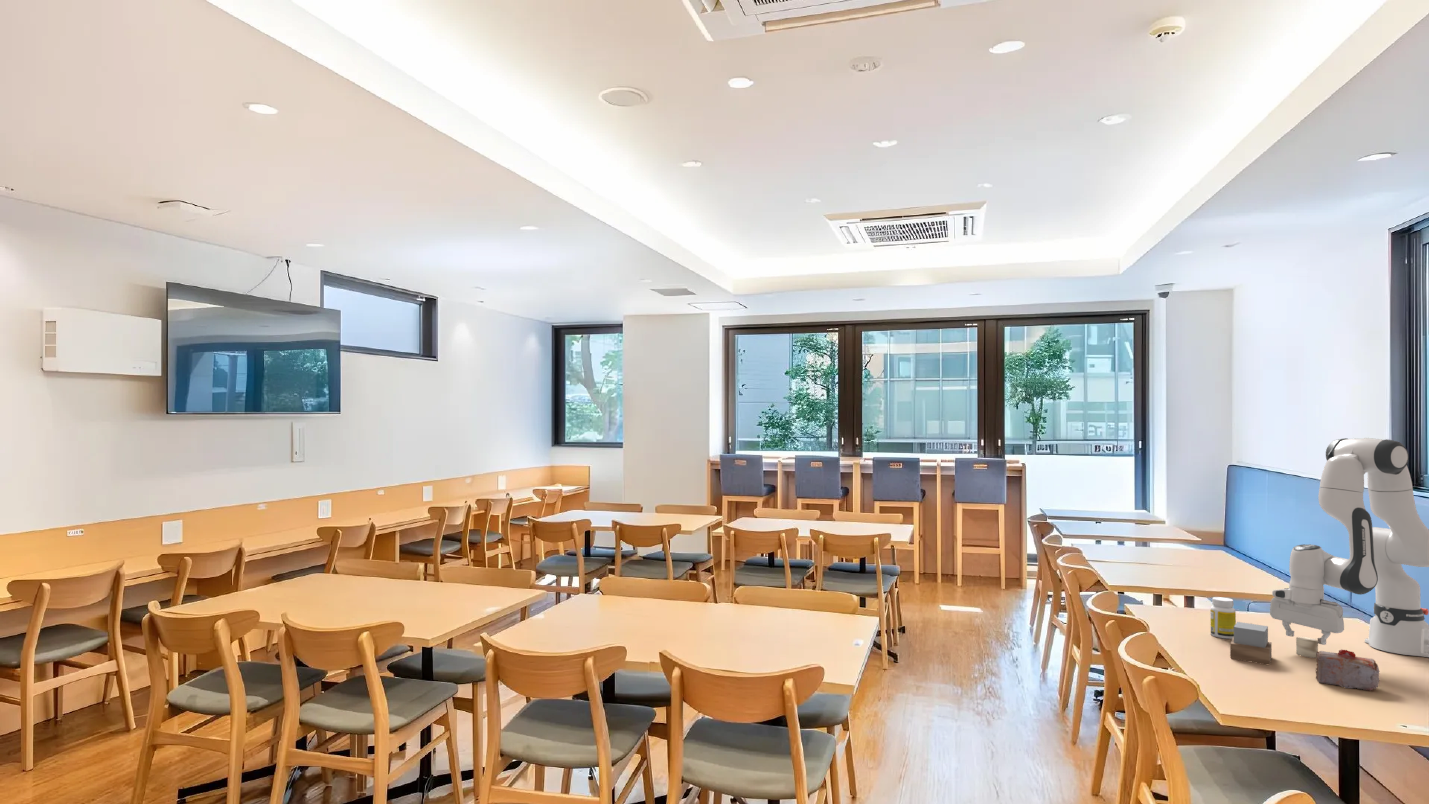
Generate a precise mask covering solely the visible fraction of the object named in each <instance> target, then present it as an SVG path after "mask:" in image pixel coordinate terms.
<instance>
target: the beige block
mask: <svg viewBox="0 0 1429 804" xmlns="http://www.w3.org/2000/svg"><path fill="white" fill-rule="evenodd" d="M1295 643H1296V646H1295V647H1296V649H1295V650H1296V651H1295V654H1296V655H1297V656H1299V655H1301V656H1300V657H1303V656H1304V658H1311V659H1317V656H1316V653H1317V652H1319V644H1318V639H1316V638H1312V637H1307V636H1306V637H1305V636H1297V637H1295Z"/></svg>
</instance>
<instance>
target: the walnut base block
mask: <svg viewBox="0 0 1429 804" xmlns="http://www.w3.org/2000/svg"><path fill="white" fill-rule="evenodd" d="M1229 645H1230V648H1229V650H1230V652H1229V653H1230V655H1229V657H1230V658H1231V660H1236V661H1242V662H1243V661H1244V662H1248V661H1252V662H1251V663H1254V662H1257V663H1256V664H1260V663H1261V665H1266V664H1270V665H1271V662H1272V658H1271V657H1272V642H1271V641H1268V643H1267V645H1266V647H1265V648H1262V647H1256V646H1250V645H1244V644H1238V643H1234V637H1233V638H1232V639H1231V641H1230V644H1229ZM1270 661H1271V662H1270Z"/></svg>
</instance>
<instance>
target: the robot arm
mask: <svg viewBox="0 0 1429 804" xmlns="http://www.w3.org/2000/svg"><path fill="white" fill-rule="evenodd" d="M1325 450H1326V451H1325V458H1326V463H1325V465H1324V466H1323V470H1322V473H1321V478H1320V480H1319V481H1320V483H1319V488H1318V498H1317V499H1318V503H1319V506H1320V508H1321V509H1322V511H1323V512H1324V513H1326V514H1327V515H1328V516H1330V517H1331V518H1333V519H1335V520H1336V521H1338V522H1339V523H1341V524H1342V525H1343V526H1344V527H1345V528H1346V529H1347V532H1348V541H1349V542H1348V545H1349V557H1348V558H1344V557H1340V556H1336V555H1335V556H1334V555H1333V554H1330V553H1328V552H1327V551H1325V550H1323V548H1322V547H1321V546H1319V545H1317V544H1303V543H1302V544H1297V545H1295V546H1293V548H1292V549H1291V552H1290V556H1289V567H1288V569H1289V570H1288V571H1289V575H1290V580H1289V582H1288V584H1289V585H1288V587H1287V588H1282V589H1275V590H1274V589H1273V590H1272V594H1271V595H1272V596H1273V597H1272V598H1271V600H1270V607H1269V614H1270V616H1271V618H1272V619H1274V620H1279V621H1281V624H1282V626H1283V628H1284V630H1285V635H1286V636H1287V637H1294V636H1295V630H1293V629H1292V628H1291V625H1292V624H1296V625H1299V626H1303V627H1307V628H1312V629H1316V630H1320V632H1321V634H1322V636H1321V637H1318V638H1317V640H1318V645H1322V646H1325V645H1327V639H1328V638H1329V637H1330V636H1331V633H1333V634H1339V633H1343V632H1344V630H1345V623H1344V616H1343V615H1344V608H1343V607H1342V605H1340V604H1338V602H1335V601H1330V600H1326V599H1325V587H1324V585H1325V586H1328V587H1332V588H1336V589H1339V590H1344V591H1347V592H1350V593H1353V594H1355V595H1365V594H1366V595H1367V593H1369V592H1370V593H1371V591H1372V590H1373V589H1374V591H1375V602H1374V604H1373V614H1374V616H1373V617H1371V618H1370V620H1369V629H1368V637H1367V638H1364V642H1365V643H1367V644H1368V646H1370V647H1372V648H1374V649H1377V650H1381V651H1383V652H1387V653H1392V654H1398V655H1404V656H1405V655H1406V656H1415V657H1423V658H1429V623H1428V622H1426V621H1425V619H1426V618H1425V616H1428V615H1429V609H1428V608H1423V607H1421V605H1422V604H1421V586H1420V584H1419V582H1418V581H1417V579H1415V578H1413V577H1411V575H1408V574H1407V572H1406V571H1405V570H1404V568H1403V566H1402V565H1405V566H1411V567H1417V568H1429V528H1428V527H1427V526H1426V525H1425V524H1424V522H1423V520H1422V519H1421V518H1420V515H1419V513H1418V511H1417V507H1416V502H1415V496H1414V490H1413V489H1414V487H1413V481H1412V478H1411V473H1410V470H1409V468H1408V464H1409V460H1410V459H1409V458H1410V456H1409V455H1410V454H1409V451H1408V449H1407V447H1406V446H1405V445H1404V444H1403V443H1402V442H1400V441H1397V440H1393V439H1389V438H1387V439H1386V438H1385V439H1383V438H1382V439H1381V438H1369V437H1364V438H1338V439H1334V440H1332V441H1331V442H1330V443H1329V444H1328V445H1327V447H1326V449H1325ZM1366 473H1367V489H1368V497H1369V505H1370V510H1371V513H1372V514H1373V515H1374V516H1375V517H1377V518H1378V519H1380V520H1382V521H1383V522H1384V523H1385V524H1386V525H1387V527H1389V528H1387V527H1386V528H1385V527H1377V526H1373V522H1372V517H1371V515H1370V513H1369V512H1368V511H1367V510H1366V507H1365V503H1364V492H1365V491H1364V489H1365V474H1366Z"/></svg>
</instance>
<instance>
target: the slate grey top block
mask: <svg viewBox="0 0 1429 804" xmlns="http://www.w3.org/2000/svg"><path fill="white" fill-rule="evenodd" d="M1268 642H1269V626H1268V625H1261V624H1255V623H1249V622H1241V621H1236V624H1235V626H1234V643H1238V644H1244V645H1250V646H1256V647H1262V648H1265V647H1266V645H1267V643H1268Z"/></svg>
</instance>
